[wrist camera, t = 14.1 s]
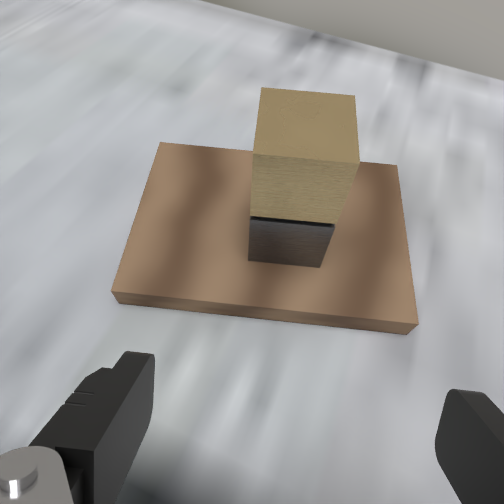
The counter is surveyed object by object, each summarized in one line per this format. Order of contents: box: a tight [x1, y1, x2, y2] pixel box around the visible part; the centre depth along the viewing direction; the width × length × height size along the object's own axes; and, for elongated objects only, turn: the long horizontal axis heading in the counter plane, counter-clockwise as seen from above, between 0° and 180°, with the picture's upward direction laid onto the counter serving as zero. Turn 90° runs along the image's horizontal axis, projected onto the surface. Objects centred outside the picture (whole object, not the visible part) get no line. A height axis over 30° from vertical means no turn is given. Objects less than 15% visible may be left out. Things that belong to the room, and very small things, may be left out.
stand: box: [111, 142, 419, 335], centre depth 29 cm, size 20×14×2 cm
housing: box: [248, 87, 360, 268], centre depth 23 cm, size 5×5×10 cm
